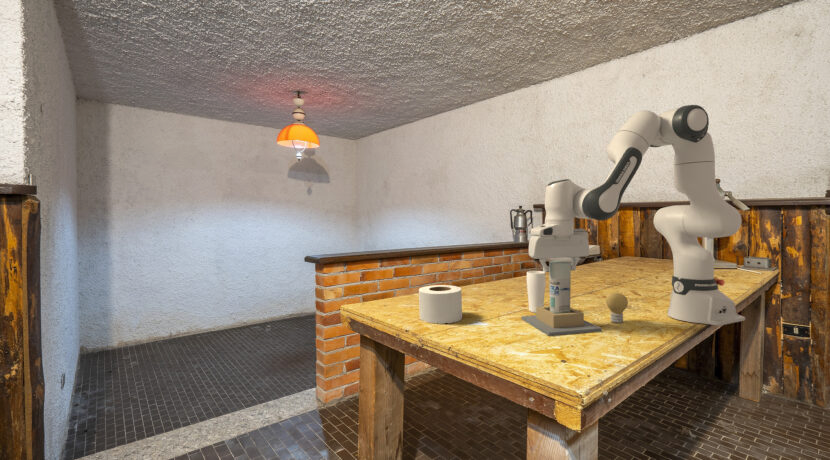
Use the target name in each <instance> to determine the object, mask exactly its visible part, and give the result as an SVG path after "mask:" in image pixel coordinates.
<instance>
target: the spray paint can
mask: <svg viewBox="0 0 830 460" xmlns="http://www.w3.org/2000/svg"><path fill="white" fill-rule="evenodd" d="M548 264H549V267H550V269H549V270H550V272H548V273H549V306H550V312H552V313H554V314H561V313H570V308H571V276H572V275H571V272H572V271H571V262H570V261H566V260H565V261H564V260H552V261H549V263H548Z"/></svg>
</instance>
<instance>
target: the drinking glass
mask: <svg viewBox="0 0 830 460" xmlns="http://www.w3.org/2000/svg"><path fill="white" fill-rule="evenodd" d="M526 291H527V301H528V311H529V312H531V313H535V314H536V307H545V306H544V305H545V293H546V292H545V291H546V272H543V270H529V271H526Z"/></svg>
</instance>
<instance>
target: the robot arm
mask: <svg viewBox="0 0 830 460" xmlns="http://www.w3.org/2000/svg"><path fill="white" fill-rule="evenodd" d="M709 123H710V121H709V114H708V112H707V111H706V110H705V108H703V107H702V106H701V105H698V104H687V105H682V106H680V107H677V108H673V109H669V110H667V111H665V112H663V113H660V114H656V113H655V112H653V111H651V110H638V111H637V112H635V113H634V114H632V115H631V116H630V117H629V118H628V119H627V120H626V121H625V122H624V123H623V124H622V125H621V126H620V127H619V129H618V130H617V132H616V133H615V134H614V135H613V137H612V138H611V140H610V141H609V143H608V144H607V147H606V155H607V157H608V158H609V160H610V161H611V162H612V163H613V164H614V165H613V167H612V169H611V170H610V172H609V173H608V176H607V177H606V179H605V180H604V182H603V183H602V184H600V185H598V186H596V187H594V188H585V187H582V186H580V185H578V184H575V182H573V181H572V180H571V179H568V178H565V179H560V180H555V181H552V182H549V183H548V184H547V185H546V188H545V193H544V194H545V195H544V209H545V218H544V223H543V224H541V225H537V226H535V227H533V228H531V229H530V235H531V236H530V238H529V241H528V256H529V257H530V258H531V259H535V260H536V259H537V260H538V259H539V262H540V264H541V266H542V271H543V272H545V273H549V272H550V270H549V269H550V267H549V266H548V264H547V263H546V262H547V259H557V258H558V259H559V258H561V259H562V258H571V260H572V261H571V262H570V264H571V272H573V271H577V264H578V263H579V261H580V258H581V257H588V256H589V255H590V243H589V233H588V231H587V230H586V229H584V228H574V227H575V225H574V224H575V223H574V219H575V218H577V219H586V220H590V219H591V220H595V221H608V220H609V219H611V218H613V217H614V216H615V215H616V214H617V212H618V211H619V208H620V205H621V201H622V198H623V195H624V193H625V192H626V190H627V188H628V186H629V185H630V183H631V182H632V180H633V178H634V176H635V174H636V173H637V171H638V170H639V168H640V166H641V164H642V161H643V157H644V155H645V154H646V152H647V151H648V150H649V148H660V147H665V146H671V148H672V149H673V150H674V155H673V156H674V158H673V186H674V188H675V189H676V191H677V192H679V193H681V194H683V195H685V196H686V197H687V198H688V201H689V204H682V205H681V204H678V205H677V204H676V205H670V206H665V207H662V208H660V209H658V210H657V211H656V213H655V214H654V216H653V226H654V228H655V229H656V231H657V232H658V233H660V234H661V235H662V236H663V237H664V238H665V240H666V242H667V244H669V248H670V250H671V253H672V262H673V263H672V264H673V267H672V268H673V275H671V287H672V290H671V294H670V299H669V307H668V308H667V316H668V317H669V318H673V319H675V320H678V321H683V322H689V323H695V324H705V325H706V324H707V325H711V326H712V325H713V326H717V327H718V326H724V325H731V324H734V323H740V322H744V321H746V317H745V316H743V315H740V314H738V313H737V311H736V304H735V301H734V300H733V299H731V298H730V297H729V296H727V295H726V294H725V293H723V292H722V291H720V290H719V286H724V285H725V283H726V282H725V279H723V278H722V279H721V278H715V258H714V255H713V253H712V252H711V251H709V250H708V249H706V248H704V247H703V246H702V245H701V243H699V240H698V238H707V239H708V238H712V239H717V238H725V237H731V236H734V235H735V234H737V232H738V231H739V230H740V229H741V226H742V215H741V213H740V211H739V210H738V209H737V208H736V207H734V206H732V205H731V204H730V203H729V202H727V201H726V200H725V199H724V198H723V196H722V195H721V194H720V192H719V189H718V187H717V181H716V156H715V155H716V154H715V146H714V142H713V138H712V135H711V134H710V133H709V132H708V130H709V125H710V124H709ZM718 285H719V286H718Z"/></svg>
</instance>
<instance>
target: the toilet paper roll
mask: <svg viewBox="0 0 830 460" xmlns="http://www.w3.org/2000/svg"><path fill="white" fill-rule="evenodd" d="M462 295H463V294H462V288H461V287H459V286H456V285H450V284H449V285H448V284H437V285H436V284H434V285H427V286H422V287H420V288H419V289H418V304H419V305H418V307H419V308H418V310H419V320H420V319H421V320H420V321H422V320H423V321H422V322H424V321H426V322H425V323H427V322H430V323H429V324H432V323H438V324H437V325H445V323H448V324H453V322H454V323H457V322H459V321H461V320H462V318H463V304H462V303H463V302H462V301H463V299H462V298H463V297H462Z"/></svg>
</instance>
